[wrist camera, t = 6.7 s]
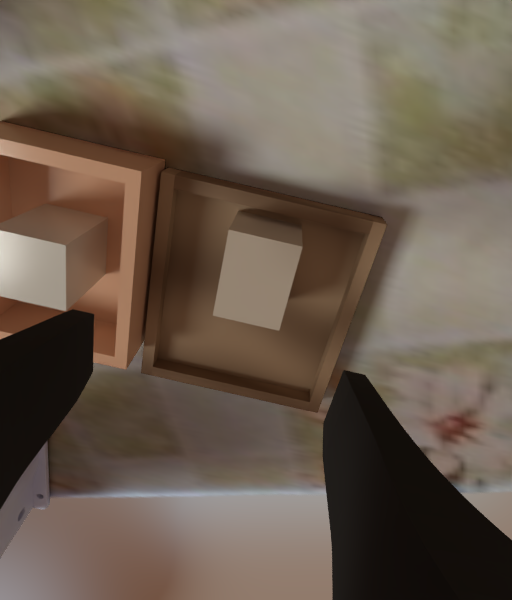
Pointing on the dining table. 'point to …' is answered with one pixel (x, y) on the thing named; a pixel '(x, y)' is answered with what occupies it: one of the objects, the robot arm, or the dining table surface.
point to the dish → (95, 200)
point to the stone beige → (258, 270)
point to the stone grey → (52, 255)
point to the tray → (241, 336)
